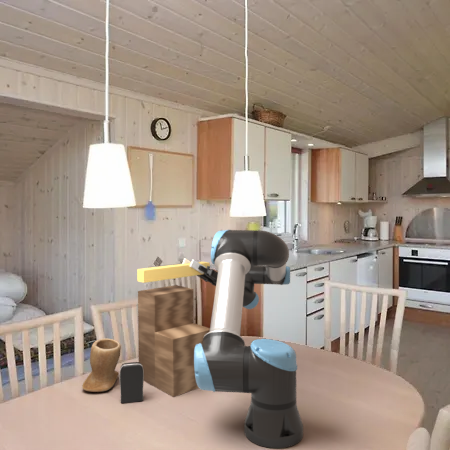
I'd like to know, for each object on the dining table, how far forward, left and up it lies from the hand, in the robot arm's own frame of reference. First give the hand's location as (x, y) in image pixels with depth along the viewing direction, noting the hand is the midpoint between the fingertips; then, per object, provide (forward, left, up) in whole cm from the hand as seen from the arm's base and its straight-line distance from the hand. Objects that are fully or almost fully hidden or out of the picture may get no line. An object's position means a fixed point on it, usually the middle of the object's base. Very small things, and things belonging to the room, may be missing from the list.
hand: (187, 262), depth 155 cm
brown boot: (-23, +19, -39) cm, 49 cm away
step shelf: (-11, -1, -39) cm, 40 cm away
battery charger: (-29, +4, -39) cm, 49 cm away
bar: (-5, +2, -5) cm, 7 cm away
